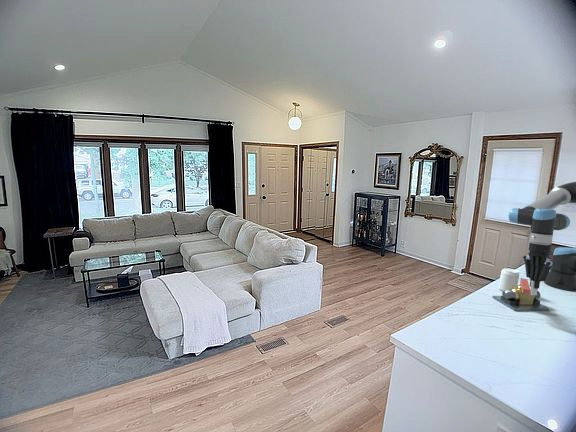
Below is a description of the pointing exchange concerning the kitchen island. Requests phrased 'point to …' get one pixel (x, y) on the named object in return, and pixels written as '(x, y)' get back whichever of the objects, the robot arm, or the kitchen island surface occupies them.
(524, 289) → the lever
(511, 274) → the beverage can
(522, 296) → the valve fixture
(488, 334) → the kitchen island surface
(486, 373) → the kitchen island surface
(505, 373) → the kitchen island surface
